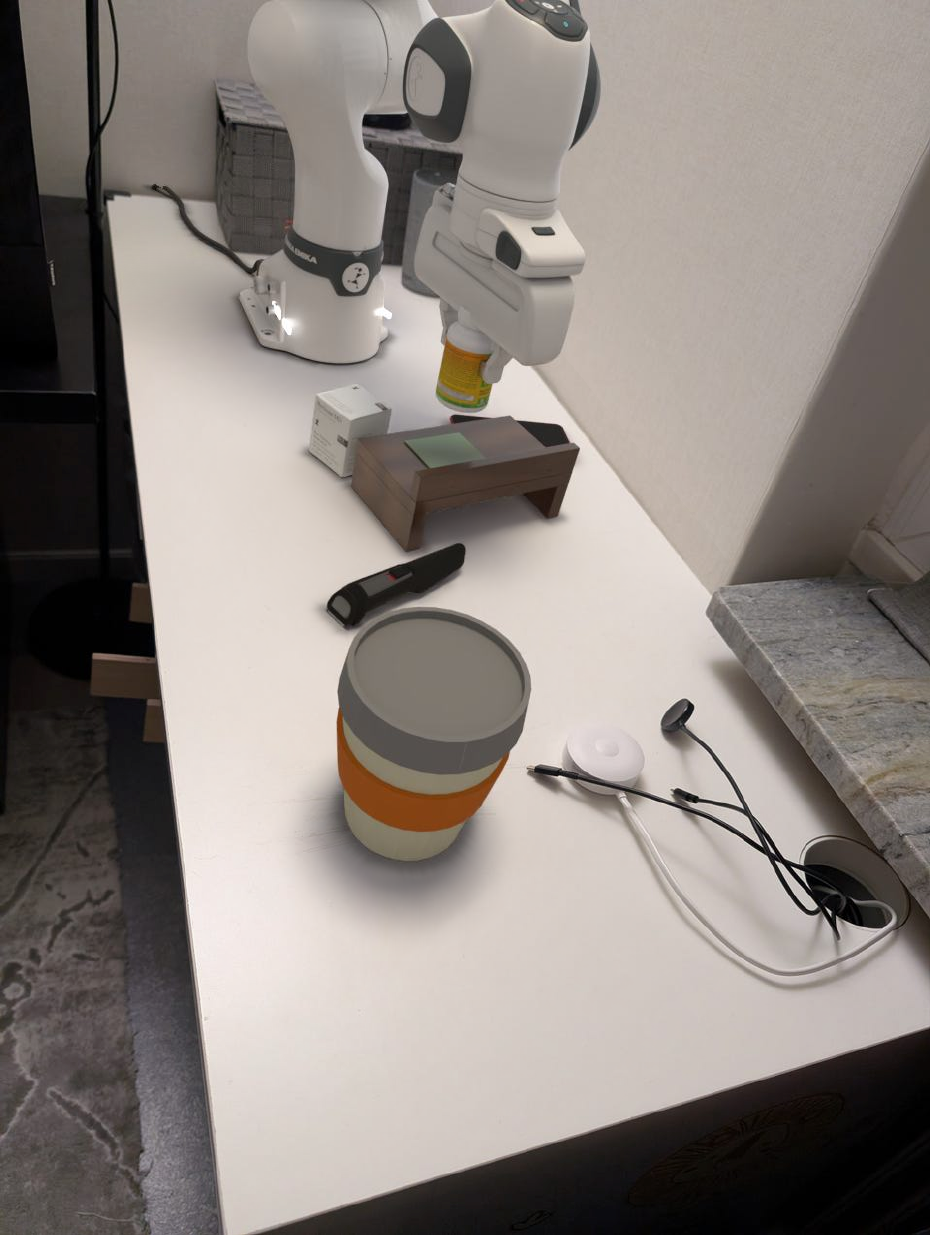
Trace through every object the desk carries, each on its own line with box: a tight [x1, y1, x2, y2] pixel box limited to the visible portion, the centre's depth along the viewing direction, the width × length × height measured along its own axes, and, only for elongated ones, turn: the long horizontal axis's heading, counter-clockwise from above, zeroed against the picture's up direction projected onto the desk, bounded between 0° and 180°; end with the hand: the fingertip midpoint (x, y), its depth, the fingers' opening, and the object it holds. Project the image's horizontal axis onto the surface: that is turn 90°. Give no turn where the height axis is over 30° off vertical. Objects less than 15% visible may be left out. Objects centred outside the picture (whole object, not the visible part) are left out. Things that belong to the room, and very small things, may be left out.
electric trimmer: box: [326, 542, 467, 627], centre depth 85 cm, size 4×16×3 cm, turn 134°
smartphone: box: [449, 413, 571, 447], centre depth 111 cm, size 7×1×15 cm
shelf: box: [350, 415, 581, 553], centre depth 96 cm, size 12×20×9 cm, turn 123°
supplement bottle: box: [435, 306, 494, 414], centre depth 87 cm, size 5×5×10 cm
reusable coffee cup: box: [336, 606, 532, 862], centre depth 62 cm, size 13×13×15 cm
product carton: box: [308, 383, 393, 478], centre depth 98 cm, size 6×6×7 cm
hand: (469, 363), depth 87 cm, fingers closed on supplement bottle, 5 cm apart
